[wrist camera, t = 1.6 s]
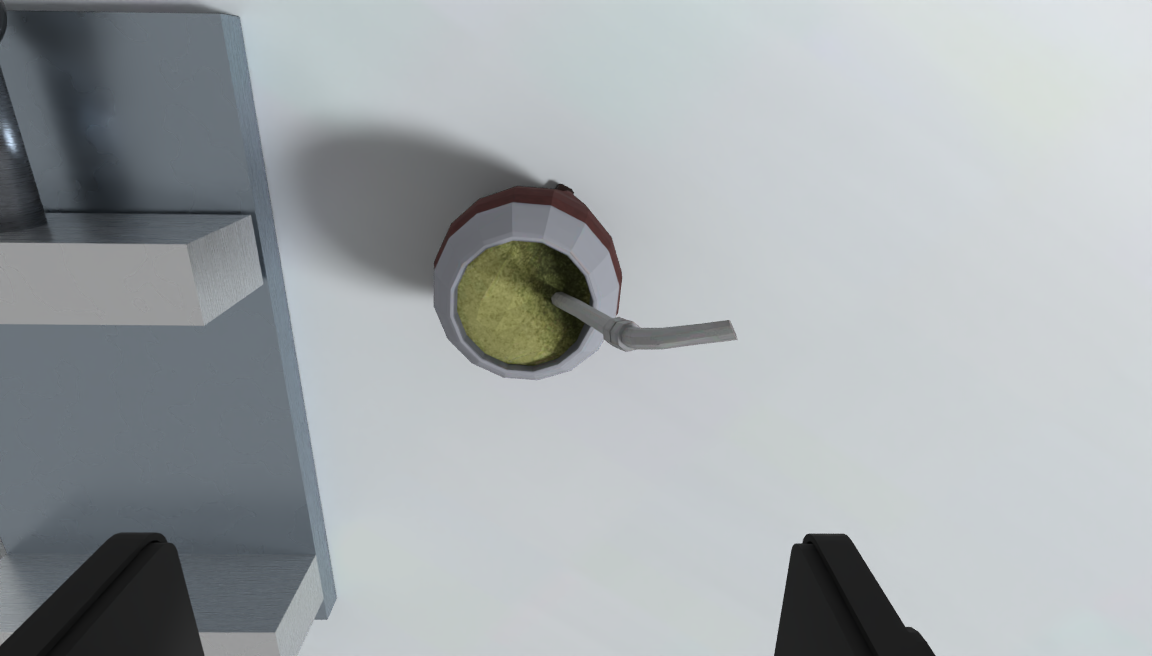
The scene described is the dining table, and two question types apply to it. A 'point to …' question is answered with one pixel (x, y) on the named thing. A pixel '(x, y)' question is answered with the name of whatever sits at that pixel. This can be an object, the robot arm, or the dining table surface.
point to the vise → (157, 342)
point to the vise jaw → (112, 254)
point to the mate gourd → (539, 287)
